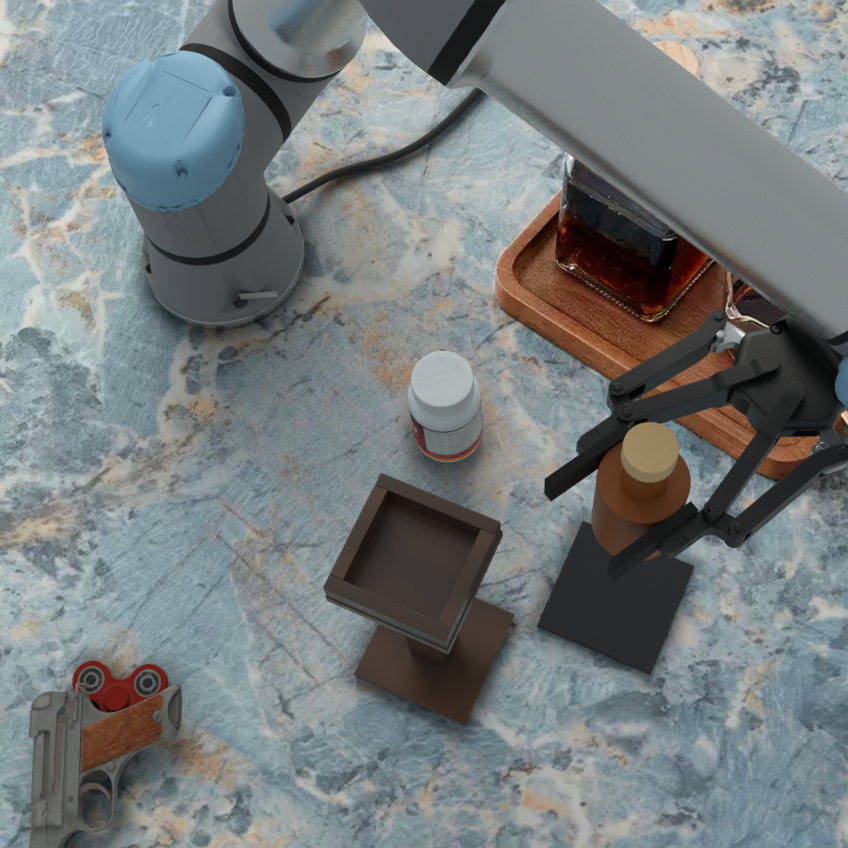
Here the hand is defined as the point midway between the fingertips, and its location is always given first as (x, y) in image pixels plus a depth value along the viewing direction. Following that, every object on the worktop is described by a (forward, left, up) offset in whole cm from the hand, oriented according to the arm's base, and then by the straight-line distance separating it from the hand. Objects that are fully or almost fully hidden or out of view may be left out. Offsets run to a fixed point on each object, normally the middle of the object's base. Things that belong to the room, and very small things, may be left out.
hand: (580, 529), depth 84 cm
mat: (-4, +3, -26) cm, 27 cm away
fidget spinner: (+20, -32, -26) cm, 46 cm away
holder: (+6, -9, -26) cm, 28 cm away
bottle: (-4, +3, -7) cm, 9 cm away
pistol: (+25, -23, -25) cm, 42 cm away
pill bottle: (-12, -16, -26) cm, 34 cm away
